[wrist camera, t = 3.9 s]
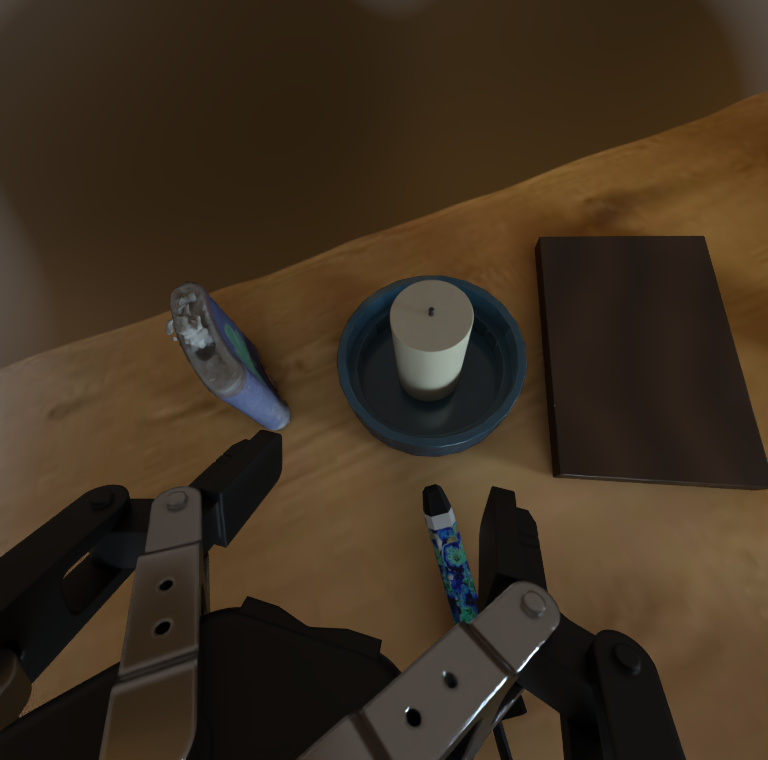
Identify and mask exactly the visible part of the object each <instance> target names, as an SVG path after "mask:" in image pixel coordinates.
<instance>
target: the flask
mask: <svg viewBox="0 0 768 760" xmlns="http://www.w3.org/2000/svg"><path fill="white" fill-rule="evenodd" d="M170 306H171V311H172V318H173V320H168V321H167V322H166V333H167V334H168V335H171V334H172V333H173V331H174V330H173V326H172V323H173V322H174V326H175V331H176V334H177V337H178V339H179V343H180V345H181V346H182V349H183V351H184V353H185V355H186V357H187V360H188V361H189V362H190V364H191V365H192V367H193V369H194V370H195V372H196V373H197V375H198V376H199V378H200V379H201V381H202V382H203V383H204V385H205V386H206V387H207V388H208V390H209V391H210V392H212V393H213V394H214V395H215V396H217V397H219V398H220V399H222V400H223V401H225V402H227V403H229V404H230V405H232V406H233V407H235V408H237V409H238V410H240V411H241V412H242V413H244V414H246V415H247V416H249V417H251V418H252V419H253V420H254V421H256V422H257V423H259V424H261V425H262V426H263V427H265V428H267V429H269V430H273V431H278V430H281V429H283V428H285V427H286V426H287V425H288V424H289V423H290V418H291V414H290V410H289V408H288V405H287V403H286V401H284V400H283V399H282V398H281V396H280V394H279V393H278V390H277V389H278V388H277V386H276V384H275V383H276V382H275V381H274V380H273V378H271V377H269V375H268V374H266V372H265V368H266V367H265V366H264V365H263V364H262V363H261V361H260V357H261V356H259V354H258V350H257V349H256V347H255V345H253V344H252V343H251V342H250V340H249V339H248V338H247V337H246V336H245V335H244V334H243V333H242V332H241V331H240V330H239V328H238V327H237V326H236V325H235V323H234V322H233V321H232V320H231V319H230V318H229V317H228V316H227V315H226V314H225V313H224V311H223V310H222V309H221V308H220V307H219V306H218V304H217V303H216V302H215V301H214V300H213V299H212V298H211V297H210V296H209V294H208V293H207V292H206V291H205V289H204V288H203V287H201V286H200V285H199V284H197V283H193V282H185V283H183V284H182V285H180V286H178V287H177V288H176V289H175V290H174V291H173V292H172V293H171V296H170ZM172 339H173V340H174V341H177V338H175V337H172Z"/></svg>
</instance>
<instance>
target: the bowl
mask: <svg viewBox="0 0 768 760" xmlns="http://www.w3.org/2000/svg"><path fill="white" fill-rule="evenodd" d="M425 280H439V281H444V282H448V283H450V284H452V285H454V286H456V287H458V288H459V289H460V290H461V291H463V292H464V293H465V295H466V296H467V297H468V299H469V300H470V302H471V305H472V308H473V313H474V320H473V325H472V329H471V333H470V337H469V341H468V344H467V348H466V352H465V356H464V360H463V364H462V368H461V372H460V376H459V380H458V383H457V385H456V387H455V389H454V390H453V391H452V392H451V393H450V394H449V395H448V396H446V397H445V398H443V399H440V400H437V401H432V402H427V401H421V400H418V399H415V398H413V397H411V396H410V395H409V394H408V393H406V391H405V390H404V389H403V387H402V386H401V384H400V381H399V376H398V369H397V363H396V357H395V350H394V344H393V337H392V331H391V324H390V310H391V307H392V304H393V302H394V300H395V299H396V297H397V296H398V295H399V293H400V292H402V291H403V290H404V289H405V288H407V287H408V286H410V285H412V284H414V283H417V282H420V281H425ZM337 368H338V375H339V381H340V385H341V387H342V390H343V392H344V394H345V396H346V398H347V400H348V402H349V405H350V406H351V408H352V410H353V411H354V413H355V415H356V416H357V418H358V419H359V421H360V422H361V423H362V424H363V425H364V426H365V428H366V429H367V430H368V431H369V432H370V433H371V434H372V435H373V436H374V437H375V438H377V439H379V440H380V441H382V442H383V443H385V444H386V445H388V446H389V447H392V448H393V449H396V450H399V451H402V452H405V453H408V454H411V455H415V456H431V457H437V456H438V457H439V456H444V455H449V454H454V453H459V452H462V451H464V450H466V449H468V448H470V447H472V446H474V445H476V444H478V443H480V442H481V441H483V440H484V439H485V438H486V437H487V436H488V435H489V434H490V433H491V432H492V431H493V430H495V429H496V428H497V427H498V426H499V424H500V423H501V422H502V421H503V419H504V418H505V417H506V415H507V414H508V413H509V411H510V410H511V408H512V406H513V405H514V403H515V401H516V400H517V398H518V396H519V395H520V393H521V391H522V386H523V382H524V378H525V374H526V370H527V369H526V368H527V363H526V347H525V343H524V340H523V338H522V335H521V332H520V329H519V327H518V324H517V322H516V321H515V320H514V318H513V317H512V315H511V314H510V313H509V311H508V310H507V309H506V307H505V306H504V305H503V304H502V303H501V302H499V301H498V300H497V299H496V298H495V297H493V296H492V295H491V294H490V293H489V292H487V291H486V290H484V289H482V288H480V287H478V286H476V285H473V284H471V283H469V282H467V281H464V280H460V279H455V278H451V277H447V276H417V277H412V278H408V279H403V280H399V281H396V282H394V283H392V284H390V285H388V286H386V287H384V288H381V289H379V290H378V291H376V292H375V293H374V294H372V295H371V296H370V297H369V298H367V299H366V300H365V301H363V302H362V304H360V306H359V307H358V308H357V310H356V311H355V312H354V313H353V315H352V316H351V317H350V319H349V320H348V322H347V324H346V326H345V329H344V331H343V333H342V336H341V338H340V341H339V348H338V356H337Z"/></svg>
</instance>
